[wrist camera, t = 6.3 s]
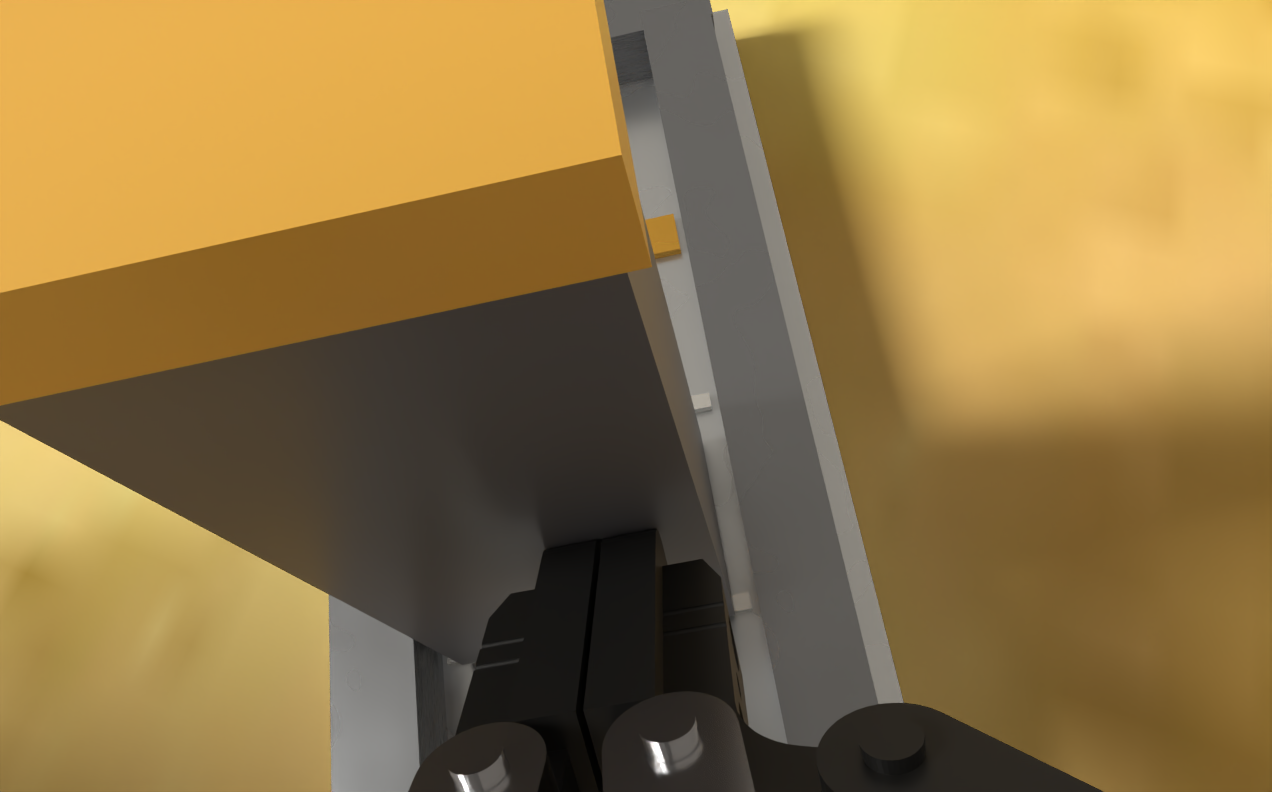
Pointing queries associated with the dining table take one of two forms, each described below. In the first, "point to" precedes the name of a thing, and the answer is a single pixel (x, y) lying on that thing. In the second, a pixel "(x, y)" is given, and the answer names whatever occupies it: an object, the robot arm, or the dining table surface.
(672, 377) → the fader tab
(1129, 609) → the dining table surface
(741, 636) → the fader console
